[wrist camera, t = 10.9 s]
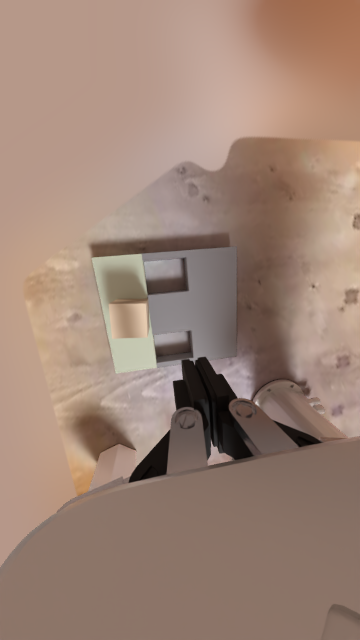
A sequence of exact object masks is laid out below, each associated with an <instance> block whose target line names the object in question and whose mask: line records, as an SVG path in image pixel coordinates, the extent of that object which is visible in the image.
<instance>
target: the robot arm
mask: <svg viewBox="0 0 360 640" xmlns="http://www.w3.org/2000/svg"><path fill="white" fill-rule="evenodd" d="M181 363H182V374H183V380H177V381H173V387H174V396H175V404H176V412H175V413H174V414H173V415H172V419H171V429H170V430H169V431H168V432H167V434H166V435H165V436H164V437H163V438H162V439H161V440H160V441H159V443H158V444H157V445H156V446H155V447H154V448H153V449H152V450H151V451H150V453H149V454H148V455H147V456H146V457H145V458H144V459H143V460H142V462H141V463H140V464H139V465H138V466H137V467H136V468H135V470H134V471H133V472H132V474H131V476H130V477H127V478H125V479H123V476H122V477H120V478H118V479H115V480H113V481H111V482H109V483H107V484H104V485H102V486H100V487H98V488H95V489H93V490H91V491H89V492H87V493H84V494H82V495H80V496H78V497H75V498H73V499H72V500H70V501H68V502H67V503H65V504H64V505H63V506H62V507H61V508H60V509H59V510H58V511H57V513H55V514H54V515H52V516H51V517H49V518H48V519H47V520H45V521H44V522H42V523H41V524H40V525H39V526H37V527H36V528H35V529H34V530H32V531H31V532H30V533H29V534H28V535H27V536H26V537H25V538H24V539H23V540H22V541H21V542H20V543H19V544H18V545H17V547H16V548H15V549H14V550H13V551H12V553H11V554H10V555H9V556H8V558H7V559H6V560H5V562H4V563H3V564H2V566H1V567H0V640H360V436H359V437H352V438H348V437H347V436H346V435H345V434H343V433H342V432H341V431H340V430H339V429H338V428H336V427H335V426H334V425H333V424H332V423H331V422H329V421H328V420H327V419H326V418H325V417H324V416H322V415H321V414H323V413H325V409H324V407H323V406H322V405H320V403H321V402H320V399H319V398H317V397H316V398H311V399H308V398H306V397H305V396H304V395H303V392H302V390H301V388H300V387H299V386H298V385H296V384H295V383H294V382H292V381H289V380H276V381H273V382H270V383H268V384H266V385H265V386H264V387H262V388H261V389H260V390H259V391H258V393H257V394H256V395H255V397H254V399H253V401H251V400H248V399H244V398H237V396H236V395H235V393H234V392H233V390H232V389H231V387H230V386H229V384H228V382H227V381H226V379H225V378H224V376H223V375H222V374H216V373H215V371H214V369H213V368H212V366H211V364H210V363H209V361H208V359H207V358H206V357H199V358H197V360H195V365H194V362H193V361H190V359H184V360H181ZM316 404H318V405H316ZM211 440H212V444H213V446H214V447H215V446H217V448H218V451H219V453H226V454H227V455H229V456H230V461H229V462H224V463H219V464H214V465H210V466H208V463H207V460H208V459H209V457H210V455H211V449H210V447H211Z"/></svg>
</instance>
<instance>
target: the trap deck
mask: <svg viewBox="0 0 360 640" xmlns="http://www.w3.org/2000/svg"><path fill="white" fill-rule="evenodd" d="M182 258H184V264H185V278H186V290H181V291H171V292H161V293H151V294H148V290H147V283H146V276H145V268H144V262H145V261H157V260H169V259H182ZM92 262H93V267H94V272H95V277H96V281H97V286H98V291H99V296H100V300H101V305H102V310H103V315H104V319H105V324H106V329H107V334H108V339H109V343H110V348H111V353H112V358H113V362H114V367H115V372H116V374H117V373H123V372H130V371H137V370H144V369H151V368H160V367H167V366H174V365H181V364H182V363H181V360H184V359H190V361H193V362H195V360H197V358H199V357H206V358H207V359H208V360H215V359H222V358H229V357H236V356H237V246H236V247H223V248H210V249H197V250H184V251H171V252H157V253H144V254H132V255H119V256H106V257H93V258H92ZM116 299H148V302H149V326H150V328H149V333H148V338H118V339H112V333H111V323H110V313H109V303H111V302H113V301H115V300H116ZM182 331H190V344H191V352H188V353H181V354H174V355H166V356H159V357H156V350H155V342H154V335H158V334H166V333H174V332H182Z"/></svg>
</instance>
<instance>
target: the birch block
mask: <svg viewBox="0 0 360 640" xmlns="http://www.w3.org/2000/svg"><path fill="white" fill-rule="evenodd" d="M109 313H110V323H111V333H112V339H118V338H148V333H149V328H150V326H149V302H148V299H116V300H115V301H113V302H111V303H109Z"/></svg>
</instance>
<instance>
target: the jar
mask: <svg viewBox="0 0 360 640" xmlns="http://www.w3.org/2000/svg"><path fill="white" fill-rule="evenodd" d="M136 454H137V451H136V450H133V449H131V448H128V447H126V446H123V445H121V444H117V445H115V446H113V447H111V448H109V449H107V450H105V451H103V452H101V453H100V456H99V459H98V462H97V465H96V469H95V472H94V475H93V478H92V481H91V485H90V488H89V491H91V490H93V489H95V488H98V487H100V486H102V485H104V484H107V483H109V482H111V481H113V480H115V479H118V478H120V477H122V476H123V479H125V478H127V477H130V476H131V474H132V472H133V471H134V470H135V468H136ZM89 491H88V492H89Z"/></svg>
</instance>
